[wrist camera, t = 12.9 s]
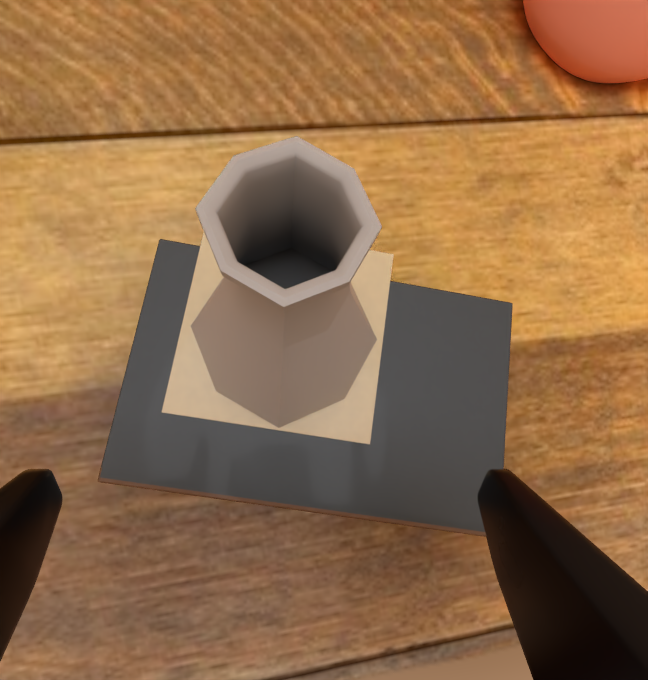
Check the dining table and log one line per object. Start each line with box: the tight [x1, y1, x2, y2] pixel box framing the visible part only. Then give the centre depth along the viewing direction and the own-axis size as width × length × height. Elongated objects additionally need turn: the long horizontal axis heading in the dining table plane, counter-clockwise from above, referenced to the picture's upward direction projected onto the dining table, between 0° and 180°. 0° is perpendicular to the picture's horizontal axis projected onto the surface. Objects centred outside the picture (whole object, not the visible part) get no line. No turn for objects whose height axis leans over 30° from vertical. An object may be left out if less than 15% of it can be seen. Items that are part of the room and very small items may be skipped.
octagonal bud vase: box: [191, 136, 382, 428], centre depth 12 cm, size 7×7×10 cm
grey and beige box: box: [98, 232, 512, 537], centre depth 19 cm, size 11×16×3 cm
